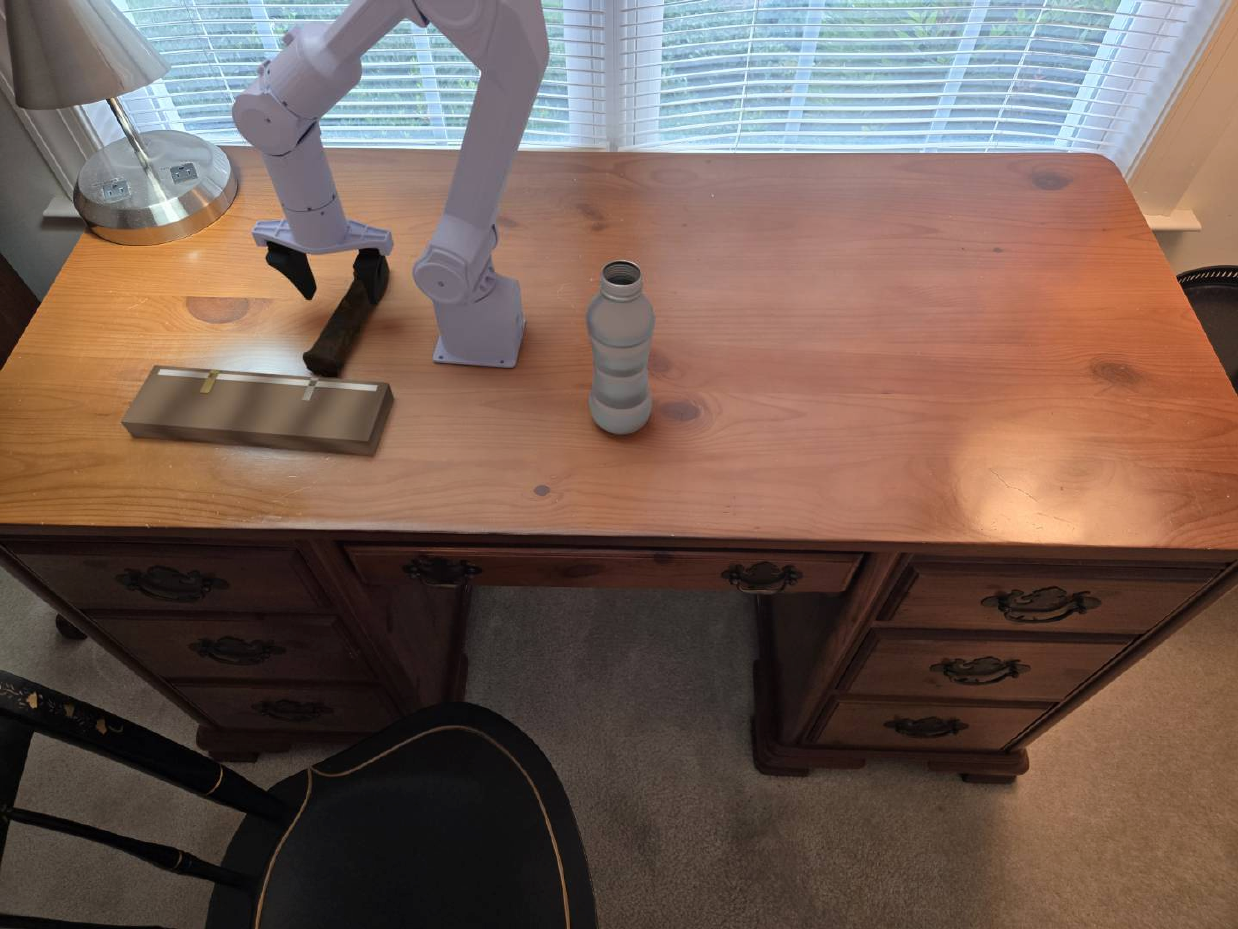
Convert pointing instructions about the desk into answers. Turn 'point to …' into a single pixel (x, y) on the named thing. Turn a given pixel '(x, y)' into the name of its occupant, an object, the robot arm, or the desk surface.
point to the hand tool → (342, 328)
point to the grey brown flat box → (260, 410)
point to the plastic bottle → (620, 349)
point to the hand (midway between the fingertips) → (344, 296)
